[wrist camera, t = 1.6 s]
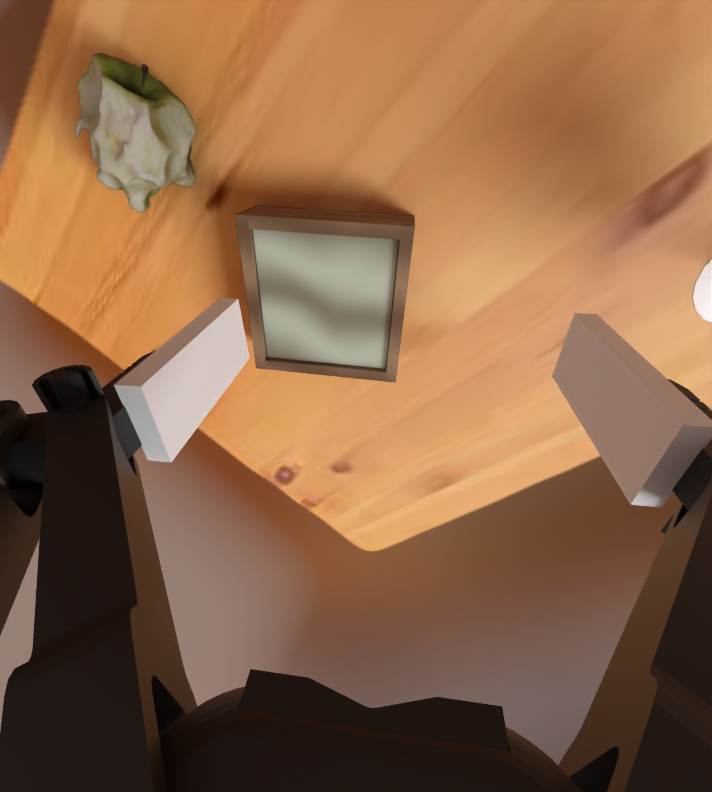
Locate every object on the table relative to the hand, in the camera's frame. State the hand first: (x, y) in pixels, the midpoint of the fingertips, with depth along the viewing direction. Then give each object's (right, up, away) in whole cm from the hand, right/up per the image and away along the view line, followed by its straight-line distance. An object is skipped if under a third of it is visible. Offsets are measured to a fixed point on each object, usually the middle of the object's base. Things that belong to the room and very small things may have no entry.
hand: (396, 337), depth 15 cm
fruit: (-18, +19, +16) cm, 31 cm away
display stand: (-4, +8, +21) cm, 23 cm away
